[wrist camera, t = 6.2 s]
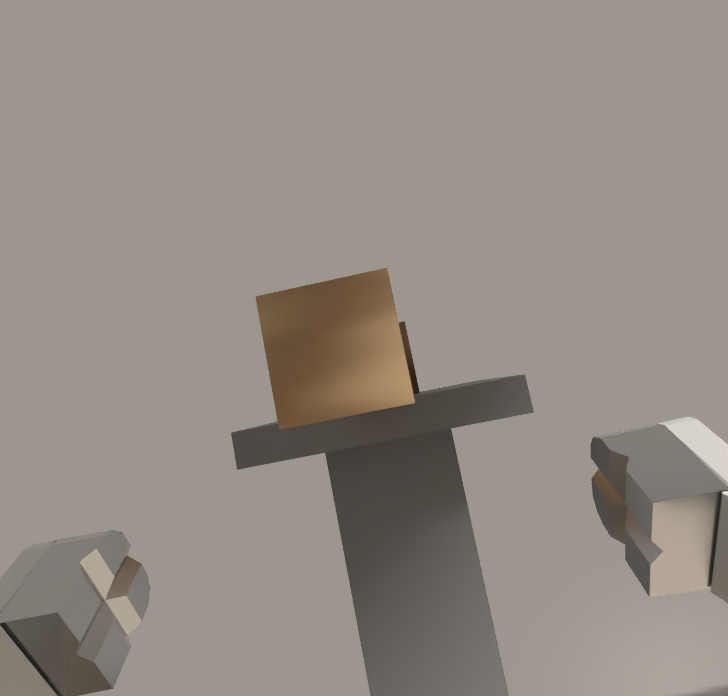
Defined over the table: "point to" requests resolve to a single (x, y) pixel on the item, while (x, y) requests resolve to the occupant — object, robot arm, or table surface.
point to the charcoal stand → (408, 533)
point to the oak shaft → (336, 349)
